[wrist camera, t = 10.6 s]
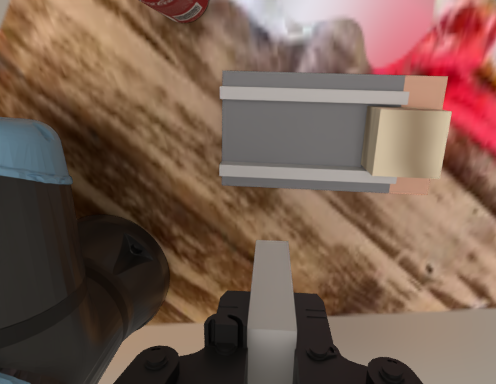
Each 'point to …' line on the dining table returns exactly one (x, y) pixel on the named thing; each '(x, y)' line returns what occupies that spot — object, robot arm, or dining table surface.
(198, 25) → the dining table surface
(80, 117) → the dining table surface
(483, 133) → the dining table surface
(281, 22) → the dining table surface
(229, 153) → the chute
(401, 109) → the ash block
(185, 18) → the soda can
